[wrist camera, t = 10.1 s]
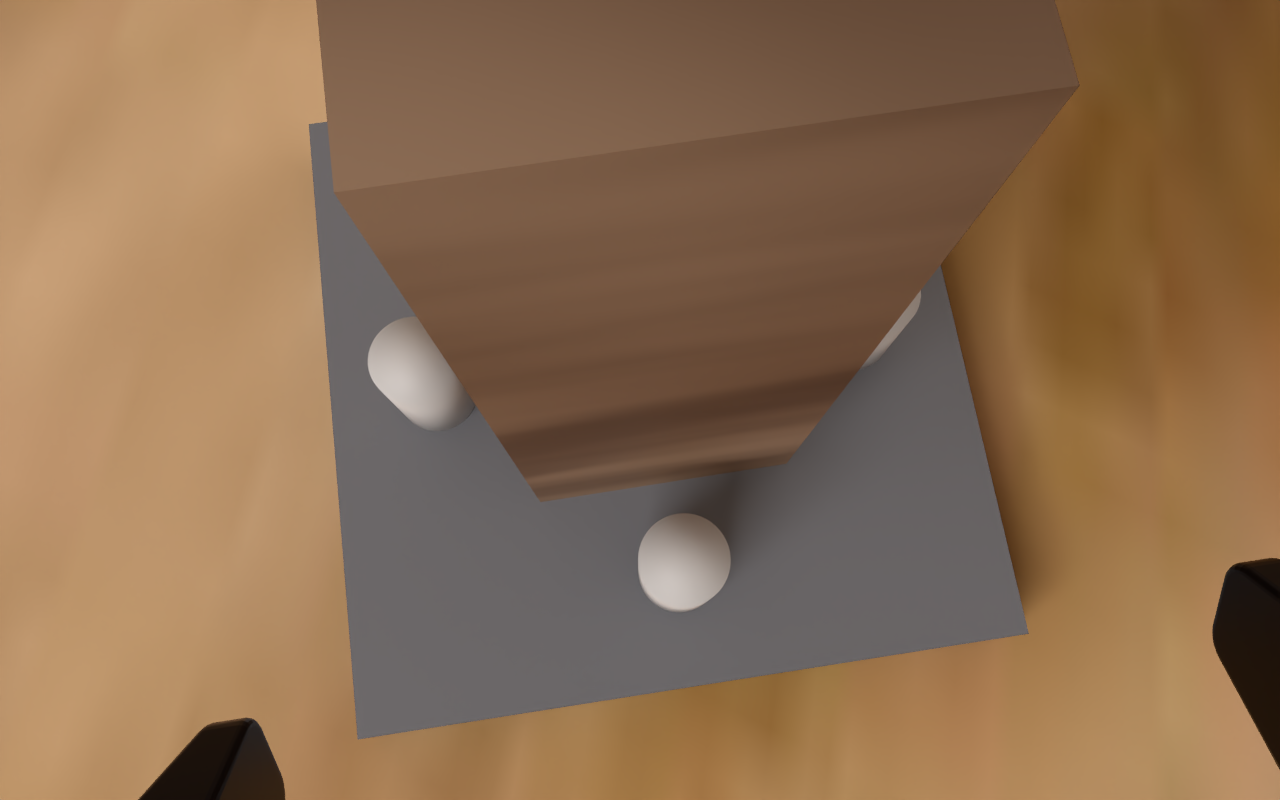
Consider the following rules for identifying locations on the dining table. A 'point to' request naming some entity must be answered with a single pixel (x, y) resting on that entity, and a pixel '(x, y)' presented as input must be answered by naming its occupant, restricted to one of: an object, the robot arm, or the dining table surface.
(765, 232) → the walnut post
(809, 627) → the peg nest
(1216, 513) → the dining table surface
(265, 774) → the robot arm
